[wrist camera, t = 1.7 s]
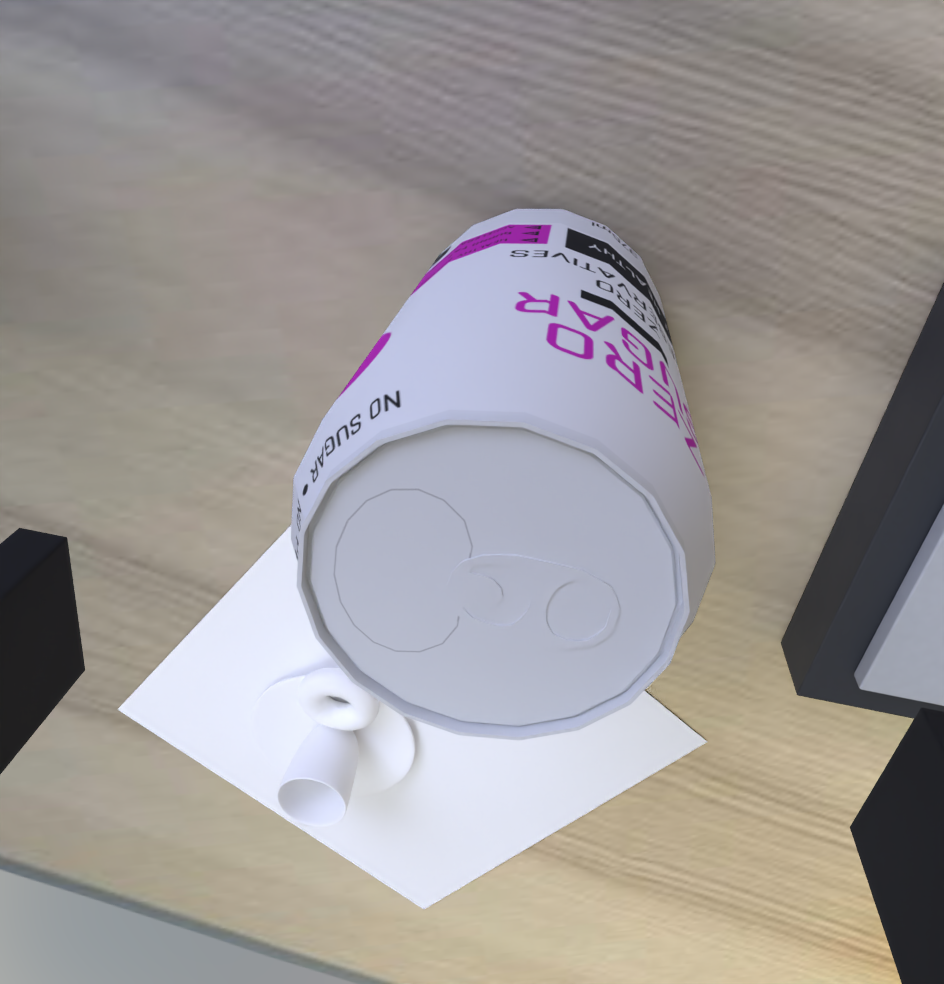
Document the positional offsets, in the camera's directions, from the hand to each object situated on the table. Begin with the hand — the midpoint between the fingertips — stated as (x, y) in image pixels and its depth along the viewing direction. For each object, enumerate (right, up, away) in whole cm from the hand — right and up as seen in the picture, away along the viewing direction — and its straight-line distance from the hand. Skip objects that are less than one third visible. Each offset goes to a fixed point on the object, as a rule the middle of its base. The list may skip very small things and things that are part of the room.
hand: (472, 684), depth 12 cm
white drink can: (+2, +9, +15) cm, 17 cm away
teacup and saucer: (-4, -8, +25) cm, 26 cm away
